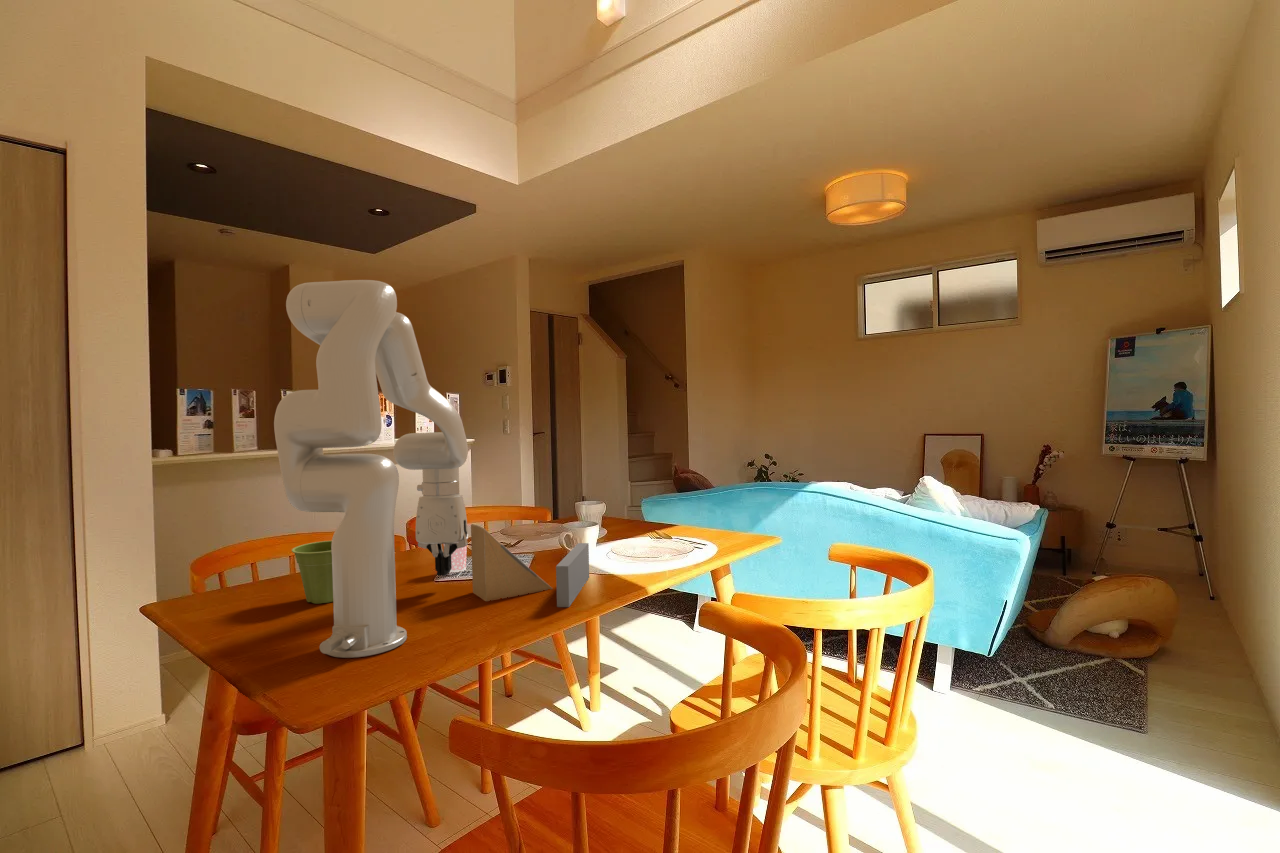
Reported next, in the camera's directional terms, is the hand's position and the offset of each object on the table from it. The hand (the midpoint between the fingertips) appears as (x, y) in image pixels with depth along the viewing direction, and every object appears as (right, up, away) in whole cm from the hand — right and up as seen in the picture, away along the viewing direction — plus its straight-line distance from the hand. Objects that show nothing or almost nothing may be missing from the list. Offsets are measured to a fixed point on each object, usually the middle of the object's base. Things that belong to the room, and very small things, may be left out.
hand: (443, 574), depth 135 cm
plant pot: (-23, -4, -5) cm, 24 cm away
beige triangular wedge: (+15, -4, -1) cm, 16 cm away
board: (+29, -3, -3) cm, 29 cm away
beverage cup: (-2, -4, +16) cm, 17 cm away
